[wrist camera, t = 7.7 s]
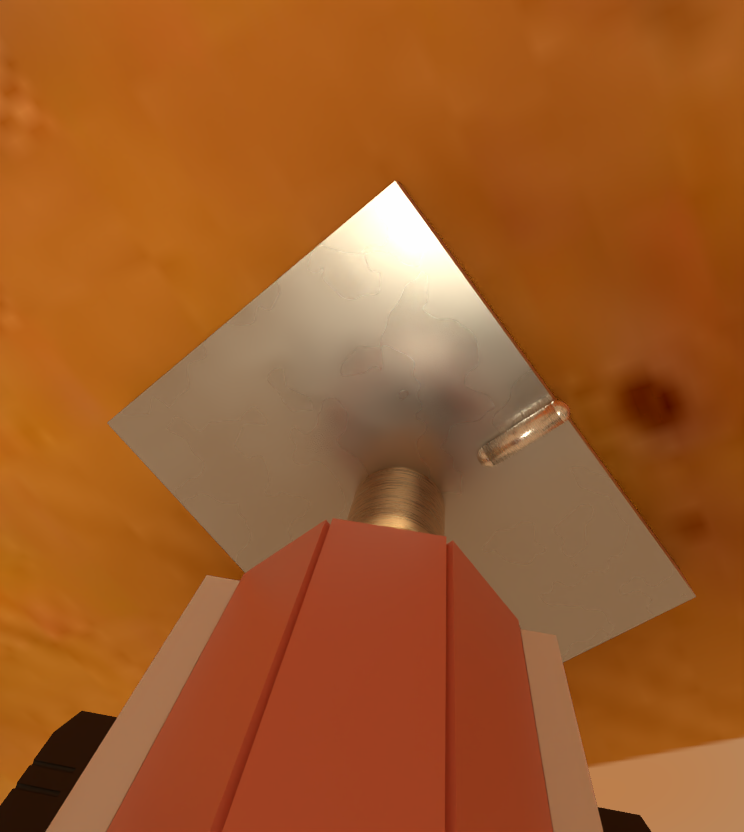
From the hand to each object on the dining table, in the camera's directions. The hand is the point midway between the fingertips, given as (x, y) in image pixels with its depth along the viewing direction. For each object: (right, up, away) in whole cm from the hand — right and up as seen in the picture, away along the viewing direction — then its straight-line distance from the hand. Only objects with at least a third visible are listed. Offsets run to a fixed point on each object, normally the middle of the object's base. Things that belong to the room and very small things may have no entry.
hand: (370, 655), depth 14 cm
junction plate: (+1, +3, +8) cm, 8 cm away
